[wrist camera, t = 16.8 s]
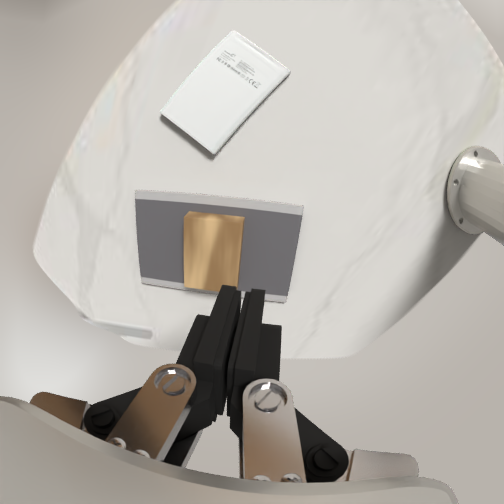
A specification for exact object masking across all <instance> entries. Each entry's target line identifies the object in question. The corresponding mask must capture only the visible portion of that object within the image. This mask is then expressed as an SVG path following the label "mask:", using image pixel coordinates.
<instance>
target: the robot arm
mask: <svg viewBox="0 0 504 504" xmlns="http://www.w3.org/2000/svg"><path fill="white" fill-rule="evenodd" d="M447 202H448V208H449V212H450V215H451V217H452V219H453V221H454V223H455V224H456V225H457V226H458V227H459V228H460V229H461V230H463V231H464V232H466V233H468V234H472V235H473V234H480V233H483V232H485V233H486V234H488V235H489V236H491V237H492V238H494V239H495V240H496V241H498V242H499V243H501V244H502V245H503V246H504V164H501V162H500V161H499V159H498V157H497V156H496V155H495V154H494V153H493V152H492V151H491V150H489V149H487V148H484V147H480V146H474V147H470V148H468V149H466V150H465V151H463V152H462V153H461V154H460V155H459V157H458V158H457V159H456V161H455V163H454V164H453V167H452V169H451V172H450V175H449V180H448V186H447ZM265 291H266V290H262V289H253V288H252V289H251V292H247V291H246V292H245V296H244V300H243V304H242V308H241V291H239V290H237V287H236V286H230V285H222V286H221V289H220V291H219V294H218V296H217V299H216V302H215V304H214V307H213V310H212V312H211V315H210V316H205V315H199V314H198V315H197V316H196V318H195V321H194V323H193V325H192V327H191V330H190V332H189V334H188V337H187V339H186V341H185V344H184V346H183V348H182V351H181V353H180V356H179V358H178V360H177V362H176V364H166V365H162V366H161V367H159V368H157V369H156V370H155V371H154V372H153V373H152V374H151V376H150V377H149V378H148V380H147V381H146V382H145V384H144V385H143V387H141V388H138V389H135V390H132V391H129V392H126V393H124V394H121V395H118V396H115V397H112V398H109V399H107V400H104V401H101V402H97V403H95V404H93V405H91V404H88V402H87V401H82V400H77V399H73V398H68V397H64V396H60V395H56V394H52V393H48V392H40V393H37V394H36V395H34V396H33V398H32V399H31V401H30V403H28V402H25V401H22V400H19V399H16V398H12V397H4V396H0V504H458V500H457V498H456V496H455V494H454V492H453V490H452V489H451V488H450V487H449V486H448V485H447V484H445V483H443V482H441V481H438V480H435V479H430V478H425V477H418V473H419V468H418V463H417V461H416V460H415V458H414V457H412V456H411V455H408V454H402V453H401V454H400V453H388V452H376V451H367V450H360V449H355V450H354V451H351V450H345V449H344V448H343V447H342V446H341V445H339V444H338V443H337V442H336V441H334V440H333V439H332V438H330V437H329V436H328V435H327V434H325V433H324V432H323V431H322V430H321V429H319V428H318V427H317V426H316V425H314V424H313V423H312V422H311V421H310V420H308V419H307V418H306V417H305V416H304V415H303V414H301V413H300V412H299V411H298V410H297V409H296V408H295V407H294V402H293V396H292V394H291V391H290V390H289V388H288V387H287V386H286V385H284V384H283V383H282V382H280V381H279V372H280V353H281V330H282V327H281V326H280V325H271V324H263V323H262V316H263V308H264V299H265ZM240 309H241V313H240ZM226 398H227V416H230V429H231V430H232V431H233V432H234V433H235V434H236V435H237V436H238V438H239V478H233V477H226V476H220V475H214V474H209V473H204V472H199V471H195V470H190V469H186V468H185V467H186V465H187V463H188V461H189V459H190V457H191V455H192V453H193V451H194V449H195V447H196V444H197V443H198V440H199V438H200V436H201V434H202V431H203V429H204V428H206V427H208V426H210V425H211V424H212V421H214V422H215V421H216V418H217V414H218V415H223V411H224V407H225V403H226Z"/></svg>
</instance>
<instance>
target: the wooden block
mask: <svg viewBox="0 0 504 504" xmlns="http://www.w3.org/2000/svg"><path fill="white" fill-rule="evenodd" d="M244 220H245V217H240V216H231V215H222V214H212V213H202V212H192V211H189V212H188V213H187V214H186V215H185V216H184V287H188V288H195V289H202V290H209V291H217V292H219V291H220V289H221V286H222V285H230V286H236V287H237V289H238V283H239V273H240V262H241V251H242V241H243V230H244Z"/></svg>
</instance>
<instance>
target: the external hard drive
mask: <svg viewBox="0 0 504 504" xmlns="http://www.w3.org/2000/svg"><path fill="white" fill-rule="evenodd" d="M290 72H291V71H290V70H289V69H288V68H287V67H286V66H284V65H283V64H282V63H280V62H279V61H278V60H276V59H275V58H274V57H272V56H271V55H270V54H268V53H267V52H265V51H264V50H263V49H261V48H260V47H258V46H257V45H255V44H254V43H253V42H251V41H250V40H248V39H247V38H245V37H244V36H242V35H240V34H239V33H237V32H236V31H234V30H232V31H231V32H230V33H229V34H228V35H227V36H226V37H225V38H223V39H222V40H221V41H220V42H219V43H218V44H217V45H216V46H215V47H214V48H213V49H212V50H211V52H210V53H209V54H208V55H207V56H206V57H205V58H204V59H203V60H202V61H201V62H200V63H199V64H198V66H197V67H196V68H195V69H194V70H193V71H192V72H191V73H190V75H189V76H188V77H187V78H186V79H185V80H184V82H183V83H182V84H181V85H180V86H179V88H178V89H177V90H176V91H175V93H174V94H173V95H172V96H171V98H170V99H169V100H168V102H167V103H166V104H165V106H164V107H163V108H162V110H161V111H160V113H161V114H162V115H163V116H165V117H166V118H167V119H169V120H170V121H171V122H173V123H174V124H175V125H177V126H178V127H179V128H181V129H182V130H183V131H184V132H186V133H187V134H188V135H190V136H191V137H192V138H193V139H195V140H196V141H197V142H198V143H200V144H201V145H202V146H203V147H205V148H206V149H207V150H209V151H210V152H211V153H212V154H216V153H217V152H218V151H219V150H220V149H221V147H222V146H223V145H224V144H225V143H226V141H227V140H228V139H229V138H230V137H231V136H232V134H233V133H234V132H235V131H236V130H237V129H238V128H239V126H240V125H241V124H242V123H243V122H244V121H245V120H246V119H247V117H248V116H249V115H250V114H251V113H252V112H253V111H254V110H255V109H256V108H257V107H258V106H259V105H260V103H261V102H262V101H263V100H264V99H265V98H266V97H267V96H268V95H269V94H270V93H271V92H272V91H273V90H274V89H275V88H276V87H277V86H278V85H279V84H280V83H281V82H282V81H283V80H284V79H285V78H286V77H287V76H288V75H289V74H290Z"/></svg>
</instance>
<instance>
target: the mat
mask: <svg viewBox="0 0 504 504" xmlns="http://www.w3.org/2000/svg"><path fill="white" fill-rule="evenodd" d="M135 205H136V226H137V241H138V253H139V264H140V273H141V282H142V283H145V284H151V285H157V286H163V287H170V288H176V289H183V290H189V291H196V292H203V293H211V294H219V292H217V291H209V290H202V289H195V288H188V287H184V216H185V215H186V214H187V213H188V212H189V211H192V212H202V213H212V214H222V215H231V216H240V217H245V220H244V230H243V241H242V251H241V262H240V273H239V283H238V289H237V290H239V291H241V298H244V296H245V292H246V291H247V292H251V289H252V288H253V289H262V290H266V291H265V299H264V300H267V301H276V302H286V300H287V296H288V291H289V286H290V281H291V276H292V270H293V265H294V260H295V255H296V249H297V244H298V238H299V232H300V227H301V221H302V215H303V209H304V206H303V205H296V204H289V203H281V202H273V201H265V200H256V199H247V198H238V197H228V196H218V195H207V194H195V193H182V192H168V191H152V190H136V191H135Z"/></svg>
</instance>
